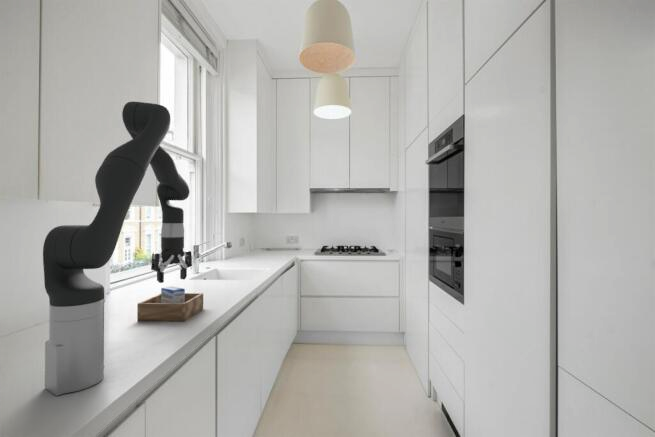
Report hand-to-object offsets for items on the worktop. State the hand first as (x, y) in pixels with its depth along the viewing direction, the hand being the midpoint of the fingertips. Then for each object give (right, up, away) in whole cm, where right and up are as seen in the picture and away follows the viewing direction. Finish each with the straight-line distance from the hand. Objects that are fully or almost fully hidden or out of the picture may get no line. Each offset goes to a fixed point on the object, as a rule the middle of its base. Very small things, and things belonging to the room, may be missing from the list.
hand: (172, 280), depth 118 cm
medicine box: (0, -12, 0) cm, 12 cm away
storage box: (0, -12, 0) cm, 12 cm away
